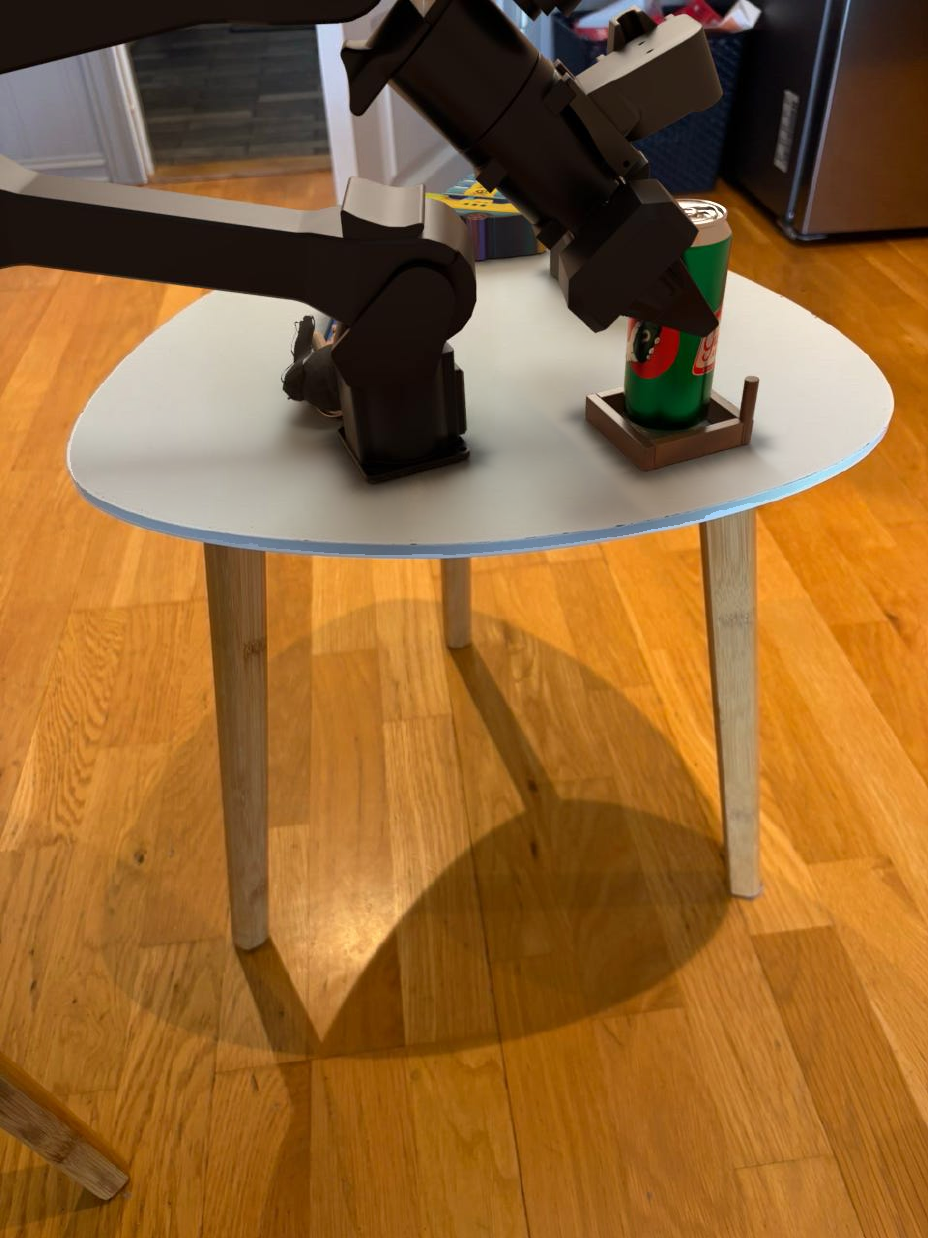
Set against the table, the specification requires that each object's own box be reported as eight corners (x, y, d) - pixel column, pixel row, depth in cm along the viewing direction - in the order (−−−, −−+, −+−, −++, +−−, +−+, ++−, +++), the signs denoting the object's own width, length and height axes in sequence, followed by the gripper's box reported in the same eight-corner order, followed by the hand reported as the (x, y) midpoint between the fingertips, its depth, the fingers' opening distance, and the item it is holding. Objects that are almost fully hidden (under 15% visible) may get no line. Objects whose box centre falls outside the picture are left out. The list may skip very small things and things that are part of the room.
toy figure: (311, 335, 71) (277, 425, 59) (309, 250, 67) (271, 327, 55) (406, 342, 71) (391, 433, 59) (409, 257, 67) (393, 336, 56)
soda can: (706, 442, 54) (736, 228, 47) (618, 437, 55) (632, 226, 47) (707, 400, 58) (734, 196, 50) (624, 396, 59) (638, 194, 51)
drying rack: (643, 472, 54) (649, 408, 51) (584, 416, 59) (586, 356, 56) (752, 442, 55) (762, 379, 53) (684, 391, 61) (691, 331, 58)
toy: (363, 203, 83) (452, 159, 92) (367, 242, 85) (454, 195, 94) (520, 226, 76) (598, 176, 86) (521, 268, 78) (597, 214, 88)
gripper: (669, -24, 34) (894, 260, 42) (590, -70, 49) (768, 148, 56) (464, 214, 39) (697, 431, 47) (446, 109, 54) (627, 288, 61)
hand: (700, 310), depth 52 cm, fingers closed on soda can, 5 cm apart
